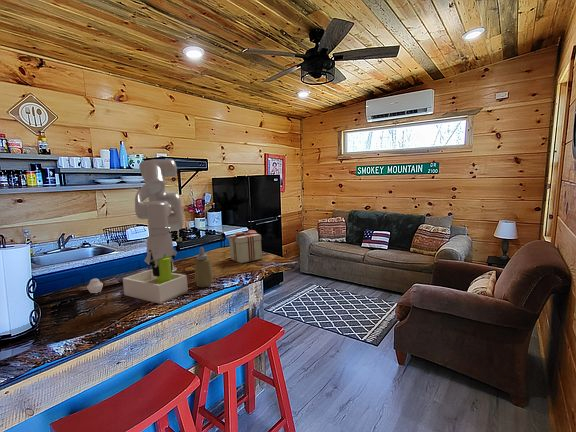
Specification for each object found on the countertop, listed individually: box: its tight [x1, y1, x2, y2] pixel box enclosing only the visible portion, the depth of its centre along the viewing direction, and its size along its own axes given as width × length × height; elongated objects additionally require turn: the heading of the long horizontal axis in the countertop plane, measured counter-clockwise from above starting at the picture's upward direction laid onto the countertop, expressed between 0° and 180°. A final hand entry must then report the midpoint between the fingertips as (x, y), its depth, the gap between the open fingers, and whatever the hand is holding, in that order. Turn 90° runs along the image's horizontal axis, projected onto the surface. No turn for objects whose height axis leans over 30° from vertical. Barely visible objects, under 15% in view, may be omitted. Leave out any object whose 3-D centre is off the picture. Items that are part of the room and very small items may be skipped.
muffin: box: [86, 278, 104, 294], centre depth 137 cm, size 6×6×7 cm
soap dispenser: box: [157, 254, 173, 285], centre depth 129 cm, size 6×7×20 cm
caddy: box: [122, 269, 189, 305], centre depth 133 cm, size 24×14×8 cm, turn 60°
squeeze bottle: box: [194, 246, 214, 288], centre depth 139 cm, size 8×8×18 cm
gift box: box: [225, 229, 263, 264], centre depth 184 cm, size 17×18×17 cm
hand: (163, 273), depth 129 cm, fingers closed on soap dispenser, 5 cm apart
